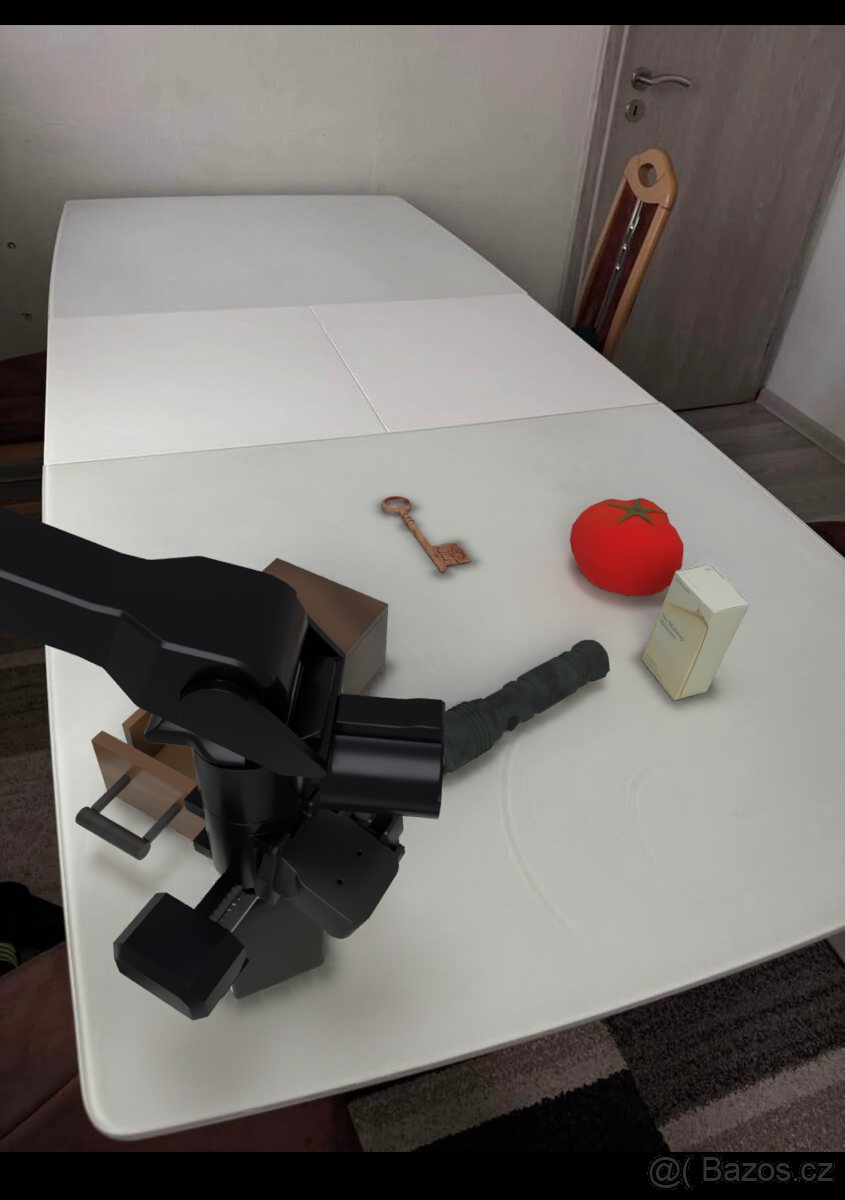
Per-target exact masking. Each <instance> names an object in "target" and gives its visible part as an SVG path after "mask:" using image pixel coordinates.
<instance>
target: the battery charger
mask: <svg viewBox="0 0 845 1200" xmlns="http://www.w3.org/2000/svg"><path fill="white" fill-rule="evenodd" d="M215 883H216V881H215V882H214V884H215ZM245 888H246V889H248V888H247V887H245ZM241 894H243V892H242V893H241ZM237 900H240V899H239V898H237ZM232 905H235V904H234V903H233V904H232ZM228 911H231V910H230V909H228ZM224 917H226V915H224ZM219 922H220V923H222V922H221V920H220V921H219ZM232 934H233V935H234V936H235V937H236V938H237V939H238V940H239V941H240V942H241V943H242V944H243V945H244V947H245V951H246V958H248V959H249V962H248V963H247V965H246V966H245V968H244V969H243V970H242V972H241V973H240V975H239V976H238V977H237V979H236V980H235V982H234V983H233V984H232V986H231V987H230V991H231V992H232V993H233V996H234V998H236V999H242V998H245V997H247V996H251V995H253V994H255V993H257V992H260V991H262V990H265V989H267V988H269V987H272V986H275V985H278V984H280V983H282V982H285V981H288V980H289V979H292V978H294V977H296V976H299V975H301V974H304V973H306V972H308V971H311V970H313V969H315V968H318V967H321V966H322V965H323V964H324V963H325V956H324V935H325V931H324V929H323V928H322V927H321V926H320V925H319V924H317V923H316V922H315V921H313V920H312V919H311V918H310V917H308V916H307V915H306V914H304V913H303V912H302V911H301V910H299V909H298V908H297V907H296V906H294V905H293V904H292V903H291V902H290V901H289V900H287V899H286V898H284V897H282V896H280V898H279V899H278V900H277V902H276V903H275V905H272V904H270V903H268V902H267V901H265V900H263V899H262V898H260V897H259V898H258V899H257V900H256V902H255V903H254V904H253V906H252V907H251V908H250V909H249V911H248V912H247V913H246V915H245V916H244V917H243V919H242V920H241V921H240V923H239V924H238V925H237V927H236V928H235V929H234V931H233V932H232Z"/></svg>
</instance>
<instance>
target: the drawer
mask: <svg viewBox="0 0 845 1200" xmlns="http://www.w3.org/2000/svg"><path fill="white" fill-rule="evenodd" d="M151 715H152V714H151V713H149V712H147V711H145V710H143V709H141V708H139V707H138V708H137V709H136V710H135V711H134V712H133V713H132V714H131V715H130V716H129V717H128V718H126V720H124V721H123V722H122V723H121V727H122V731H123V733H124V734H123V735H124V737H125V741H126V742H125V741H124V740H123V741H122V740H121V739H119V738H117V737H116V736H114V735H111V734H110V733H108V732H106V731H105V730H101V731H99V732H98V733H96V735H95V736H93V738H91V740H90V742H91V745H92V749H93V751H94V754H95V758H96V760H97V764H98V768H99V770H100V774H101V776H102V779H103V782H104V783H103V784H104V787H105V789H106V791H105V792H104V794H102V795H101V796H100V797H99V798H98V799H97V800H96V801H95V802H94V803H93V804H92V805H91V806H84V807H82V808H81V809H80V810H79V811H78V812H77V814H76V816H75V819H74V821H75V824H77V825H78V826H80V827H82V828H83V829H85V830H86V831H88V832H90V833H92V834H93V835H95V836H96V837H98V838H99V839H102V840H103V841H105V842H106V843H108V844H110V845H112V846H113V847H115V848H117V849H119V850H120V851H122V852H123V853H125V854H127V855H129V856H130V857H132V858H134V859H135V860H137V861H142V860H144V859H145V858H146V857H147V856H148V854H149V853H150V850H151V849H152V843H153V842H154V841H155V840H156V839H157V838H158V836H159V835H160V834H161V833H162V832H163V831H164V829H165V828H166V827H168V828H170V829H172V830H173V831H175V832H177V833H178V834H180V835H182V836H184V837H186V838H187V839H189V840H191V841H192V842H193V840H194V838H195V837H196V836H197V835H198V834H199V833H200V832H201V830H202V829H203V828H204V827H205V821H204V819H202V818H200V817H198V816H197V815H195V814H193V813H191V812H189V811H188V810H186V807H185V802H184V798H185V797H186V796H187V795H188V794H189V793H190V792H191V791H192V790H193V789H194V788H195V787H196V785H197V779H196V773H195V768H194V763H193V757H192V752H191V748H190V747H187V746H179V745H168V744H157V743H149V742H147V741H146V740H145V739H144V732H145V730H146V727H147V725H148V722H149V720H150V717H151ZM116 798H117V799H119V800H121V801H122V802H124V803H126V804H128V805H130V806H131V807H133V808H134V809H137V810H138V811H140V812H141V813H144V814H145V815H147V816H149V817H150V818H152V819H154V820H155V821H156V822H155V823H154V824H153V825H152V826H151V827H150V828H149V830H147V831H146V833H145V834H143V836H142V837H141V836H140V835H138V834H136V833H134V832H133V831H131V830H129V829H127V828H126V827H124V826H122V825H121V824H119V823H117V822H116V821H114V820H112V819H110V817H107V816H105V814H102V811H103V810H104V809H105V808H106V807H108V805H110V803H111V802H112V801H114V799H116Z"/></svg>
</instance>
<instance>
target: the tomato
mask: <svg viewBox="0 0 845 1200" xmlns="http://www.w3.org/2000/svg"><path fill="white" fill-rule="evenodd" d="M668 514H669V512H667V511H665V510H664V509H663V508H661V507H660V506H659V505H657V504H656V503H655V502H653V500H652V501H651V500H649V499H647V498H644V497H639V498H634V499H633V498H632V499H628V500H625V499H624V500H623V499H619V498H607V499H604V500H602V501H599V502H596V503H594V504H591V505H590V506H589V507H587V508H586V509H584V510H583V511H582V512H581V513H580V514H579V515H578V517H577V518H576V519H575V521H574V522H573V524H572V526H571V530H570V536H569V544H570V550H571V553H572V554H571V555H572V556H573V558H574V560H575V562H576V565H577V566H578V568H579V570H580V571H581V572H582V573H583V575H584V576H585V578H586V579H587V580H588V581H589V582H590V583H591V584H593V585H594V586H595V587H597V588H599V589H601V590H604V591H605V592H609V593H614V594H619V595H623V596H629V597H630V596H631V597H634V596H635V597H646V596H647V597H648V596H654V595H656V594H659V593H660V592H662V591H664V590H666V589H667V588H669V587H670V585H671V582H672V580H673V577H674V575H675V572H676V571H677V570H682V568H683V561H684V550H685V547H684V542H683V540H682V539H681V537H680V535H679V532H678V531H677V528H676V527H674V525H672V523H671V522H670V519H669V516H668Z"/></svg>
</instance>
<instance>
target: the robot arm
mask: <svg viewBox="0 0 845 1200" xmlns="http://www.w3.org/2000/svg"><path fill="white" fill-rule="evenodd" d="M262 571H263V570H259V569H254V568H251V567H246V566H244V565H238V564H235V563H231V562H227V561H223V560H220V559H215V558H212V557H207V556H203V555H189V556H179V557H178V556H177V557H166V558H155V559H149V558H144V557H140V556H136V555H132V554H128V553H124V552H122V551H118V550H115V549H112V548H110V547H108V546H105V545H102V544H100V543H97V542H94V541H92V540H89V539H87V538H84V537H82V536H79V535H77V534H74V533H72V532H69V531H66V530H63V529H62V528H58V527H56V526H53V525H50V524H48V523H46V522H43V521H40V520H38V519H36V518H33V517H30V516H28V515H25V514H22V513H19V512H17V511H14V510H13V509H9V508H7V507H4V506H1V505H0V630H1V631H4V632H7V633H9V634H13V635H16V636H18V637H22V638H24V639H27V640H30V641H33V642H36V643H39V644H42V645H44V646H47V647H50V648H53V649H56V650H59V651H60V652H61V651H62V652H64V653H67V654H70V655H73V656H75V657H78V658H80V659H83V660H84V661H87V662H88V663H91V664H93V665H95V666H97V667H99V668H102V669H103V670H104V671H105V672H106V674H107V675H108V677H110V678H111V679H112V680H113V681H114V682H115V684H116V685H117V686H118V687H119V688H120V690H121V691H122V692H123V693H124V694H125V695H126V696H127V698H128V699H129V700H130V701H131V702H132V703H133V704H134V705H135V706H136V707H137V708H138V709H139V708H141V709H143V710H145V711H147V712H149V713H151V714H152V715H151V717H150V720H149V722H148V725H147V727H146V730H145V732H144V739H145V740H146V741H147V742H149V743H157V744H168V745H179V746H187V747H190V748H191V752H192V757H193V763H194V768H195V773H196V779H197V785H196V787H195V788H194V789H193V790H192V791H191V792H190V793H189V794H188V795H187V796H186V797H185V798H184V802H185V807H186V810H188V811H189V812H191V813H193V814H195V815H197V816H198V817H200V818H202V819H204V821H205V827H204V828H203V829H202V830H201V832H200V833H199V834H198V835H197V836H196V837H195V838H194V840H193V841H192V844H193V849H194V851H196V852H197V853H199V854H201V855H202V856H204V857H206V858H207V859H210V860H211V861H212V864H213V866H214V868H215V870H216V871H217V872H218V873H219V875H220V876H219V877H218V878H217V879H216V881H215V882H216V883H215V882H214V883H213V885H212V886H211V887H210V889H209V890H208V891H207V892H206V894H205V895H204V896H203V897H202V898H201V900H200V901H199V902H198V904H197V905H196V906H195V907H194V908H193V907H192V906H190V905H188V904H187V903H185V902H183V901H182V900H180V899H178V898H177V897H175V896H174V895H172V894H170V893H168V892H166V891H165V892H163V891H162V892H155V893H154V894H153V895H152V897H151V898H150V899H149V900H148V902H147V903H146V904H145V905H144V906H143V907H142V908H141V910H139V912H138V913H137V914H136V915H135V917H134V918H132V920H131V921H130V922H129V924H128V925H127V926H126V927H125V928H124V929H123V931H122V932H121V933H120V934H119V935H118V936H117V938H115V940H114V941H113V942H112V946H113V947H112V948H113V950H112V951H113V960H114V963H115V965H116V967H117V970H118V973H120V974H122V975H123V976H124V977H126V978H128V979H129V980H130V981H132V982H133V983H134V984H136V985H138V986H139V987H141V988H142V989H143V990H145V991H147V992H149V994H152V995H153V996H154V997H156V998H157V999H159V1000H160V1001H162V1002H164V1003H165V1004H167V1005H168V1006H170V1007H171V1008H173V1009H174V1010H176V1011H177V1012H179V1013H180V1014H181V1015H183V1016H185V1017H186V1018H188V1019H189V1020H191V1021H192V1022H193V1021H197V1020H200V1019H204V1018H205V1019H206V1018H208V1017H209V1016H210V1015H211V1014H212V1012H213V1011H214V1009H215V1008H216V1006H217V1005H218V1004H219V1002H220V1001H221V1000H222V999H223V998H224V997H225V996H226V995H227V993H228V991H229V990H231V988H230V987H231V986H232V984H233V983H234V982H235V980H236V979H237V977H238V976H239V975H240V973H241V972H242V970H243V969H244V968H245V966H246V965H247V963H248V962H249V959H248V958H246V951H245V947H244V945H243V944H242V943H241V942H240V941H239V940H238V939H237V938H236V937H235V936H234V935H233V934H232V932H233V931H234V929H235V928H236V927H237V925H238V924H239V923H240V921H241V920H242V919H243V917H244V916H245V915H246V913H247V912H248V911H249V909H250V908H251V907H252V906H253V904H254V903H255V902H256V900H257V899H258V898H259V897H260V898H262V899H263V900H265V901H267V902H268V903H270V904H272V905H275V903H276V902H277V900H278V899H279V898H280V896H282V897H284V898H286V899H287V900H289V901H290V902H291V903H292V904H293V905H294V906H296V907H297V908H298V909H299V910H301V911H302V912H303V913H304V914H306V915H307V916H308V917H310V918H311V919H312V920H313V921H315V922H316V923H317V924H319V925H320V926H321V927H322V928H323V929H324V933H327V934H328V935H329V936H330V937H332V938H334V939H336V940H344V939H347V938H349V937H350V936H352V935H353V934H354V933H355V932H356V931H358V929H359V928H360V927H361V926H362V925H363V924H365V923H366V922H367V921H368V920H369V919H370V918H371V916H372V915H373V913H374V912H375V910H376V909H377V907H378V905H379V904H380V902H381V901H382V899H383V897H384V896H385V894H386V893H387V891H388V890H389V888H390V886H391V884H392V883H393V882H394V880H395V878H396V876H397V875H398V873H399V870H400V862H401V860H402V859H403V857H404V856H405V854H406V846H404V845H403V844H402V843H400V837H401V836H402V834H403V832H404V830H405V829H404V828H405V827H404V817H409V818H420V819H430V820H431V819H432V820H439V818H440V814H441V807H442V798H443V779H444V778H443V777H444V776H443V756H444V733H445V711H446V702H445V700H444V699H438V698H429V697H427V698H426V697H414V698H413V697H412V698H398V697H397V698H396V697H385V696H372V695H365V694H363V695H353V694H343V678H344V672H345V666H346V660H347V655H346V654H345V653H344V652H343V651H342V650H341V648H340V647H339V646H338V645H337V644H336V643H335V642H334V641H333V640H332V639H331V638H330V637H329V636H328V635H327V634H326V633H325V632H324V631H323V630H322V629H321V628H320V627H319V626H318V625H317V624H316V623H315V622H314V620H313V619H312V618H311V617H310V616H309V615H308V614H307V613H306V611H305V610H304V608H303V606H302V604H301V602H300V601H299V599H298V598H297V596H298V595H297V592H296V590H294V589H293V588H292V587H291V586H290V585H289V584H287V583H286V582H284V581H282V580H281V579H279V578H277V577H275V576H273V575H271V574H268V573H265V572H262ZM299 662H300V663H299ZM297 671H298V672H297ZM296 675H297V676H296ZM295 679H296V680H295ZM293 688H294V689H293ZM292 692H293V693H292ZM291 696H292V697H291ZM245 887H247V888H248V889H246V888H245ZM242 892H243V894H241V893H242ZM237 898H239V899H240V900H237ZM233 903H234V904H235V905H232V904H233ZM228 909H230V910H231V911H228ZM224 915H226V917H224ZM220 920H221V922H222V923H220V922H219V921H220Z"/></svg>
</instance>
